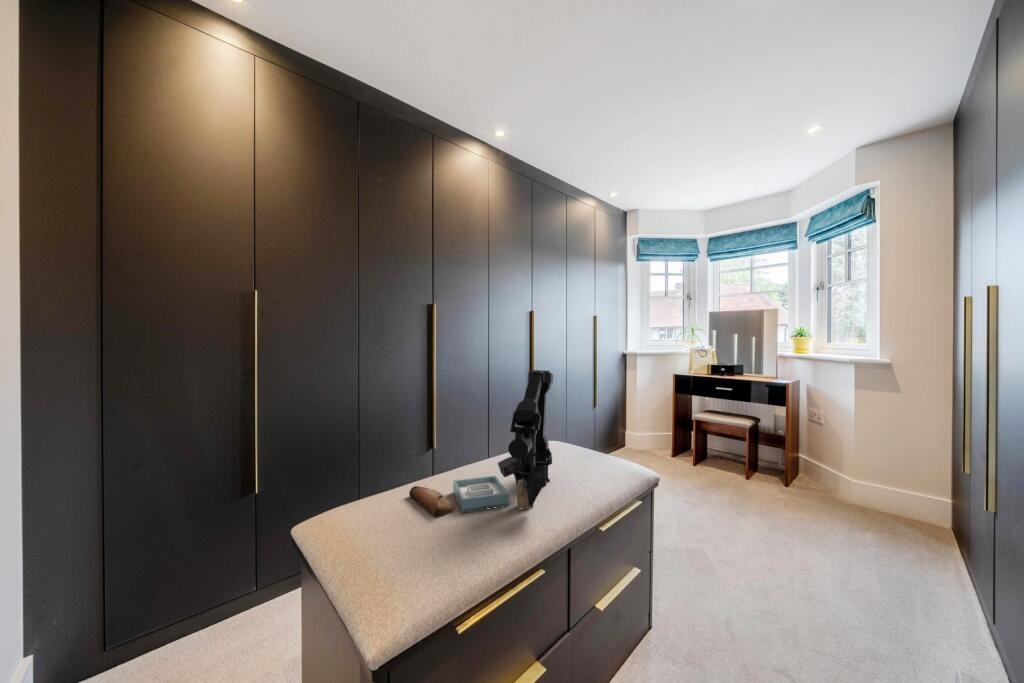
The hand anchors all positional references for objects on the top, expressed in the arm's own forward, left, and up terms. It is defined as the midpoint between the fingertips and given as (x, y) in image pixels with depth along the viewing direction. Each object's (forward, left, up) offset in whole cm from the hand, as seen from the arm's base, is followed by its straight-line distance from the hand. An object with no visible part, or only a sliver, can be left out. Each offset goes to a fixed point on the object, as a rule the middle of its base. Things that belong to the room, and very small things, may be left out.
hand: (525, 498), depth 116 cm
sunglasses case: (+27, -10, -3) cm, 29 cm away
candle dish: (+12, -9, -2) cm, 15 cm away
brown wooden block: (0, 0, -2) cm, 2 cm away
